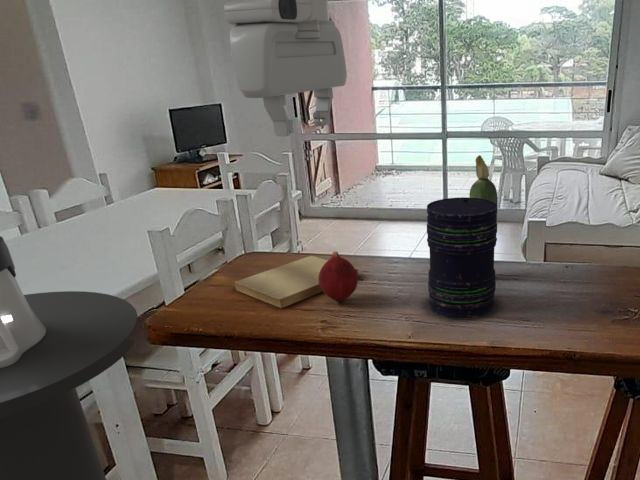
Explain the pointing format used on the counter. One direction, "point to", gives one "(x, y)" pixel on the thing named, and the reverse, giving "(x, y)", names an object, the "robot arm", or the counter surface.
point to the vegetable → (483, 183)
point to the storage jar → (462, 257)
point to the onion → (338, 278)
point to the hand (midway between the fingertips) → (304, 130)
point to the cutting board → (285, 282)
